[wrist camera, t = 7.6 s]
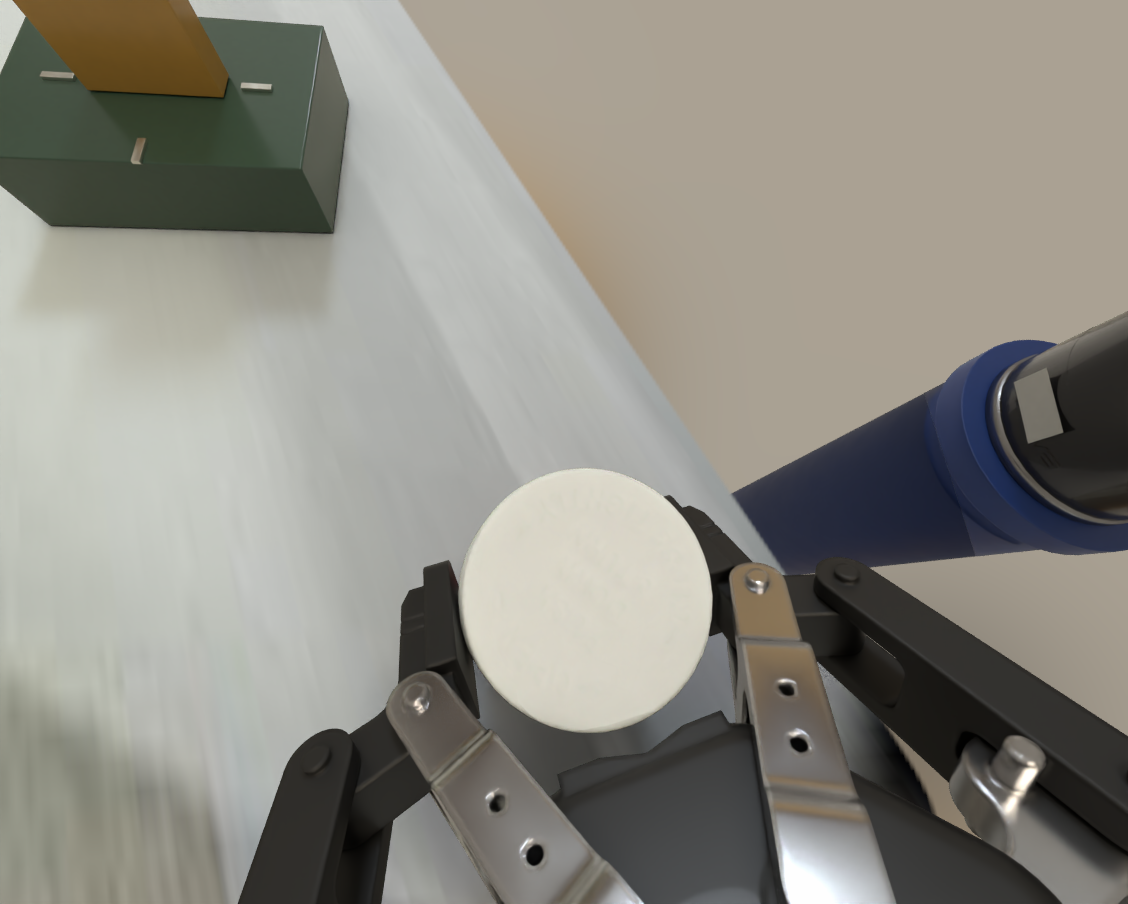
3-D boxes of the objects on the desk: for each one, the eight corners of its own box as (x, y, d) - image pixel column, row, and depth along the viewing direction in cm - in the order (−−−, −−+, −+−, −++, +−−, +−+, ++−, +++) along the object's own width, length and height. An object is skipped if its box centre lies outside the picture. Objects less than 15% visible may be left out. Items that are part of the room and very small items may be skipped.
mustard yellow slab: (229, 74, 23) (141, -88, 18) (224, 98, 23) (131, -62, 17) (96, 66, 23) (-38, -104, 17) (87, 90, 22) (-54, -78, 17)
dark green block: (349, 100, 29) (322, 20, 25) (333, 234, 26) (299, 167, 22) (98, 86, 27) (27, -1, 23) (48, 227, 24) (-43, 153, 20)
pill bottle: (579, 500, 21) (636, 395, 11) (651, 624, 20) (801, 646, 9) (456, 568, 20) (380, 526, 9) (525, 706, 19) (529, 844, 8)
